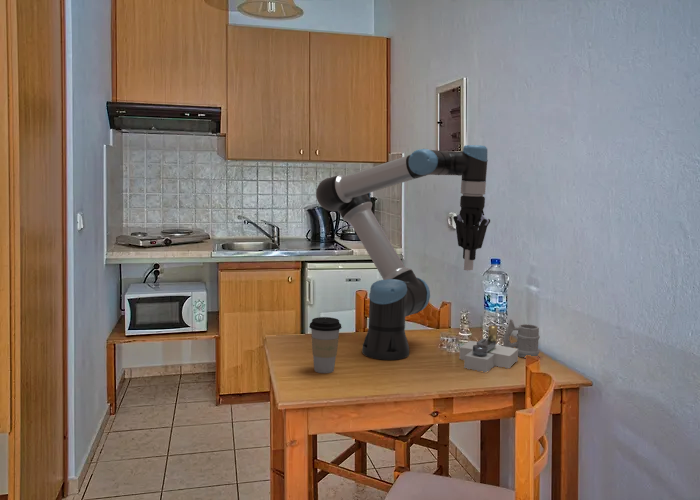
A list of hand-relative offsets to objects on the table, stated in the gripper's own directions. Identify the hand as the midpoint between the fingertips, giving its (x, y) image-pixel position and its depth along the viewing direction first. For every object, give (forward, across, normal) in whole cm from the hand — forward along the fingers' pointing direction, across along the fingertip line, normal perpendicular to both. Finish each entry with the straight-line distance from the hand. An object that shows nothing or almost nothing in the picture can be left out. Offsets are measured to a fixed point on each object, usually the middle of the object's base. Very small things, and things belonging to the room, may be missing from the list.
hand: (468, 269), depth 201 cm
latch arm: (+24, -9, +1) cm, 26 cm away
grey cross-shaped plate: (+28, -7, -4) cm, 30 cm away
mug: (+29, -10, -17) cm, 35 cm away
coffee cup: (+29, +16, +45) cm, 56 cm away
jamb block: (+28, -10, +5) cm, 31 cm away
